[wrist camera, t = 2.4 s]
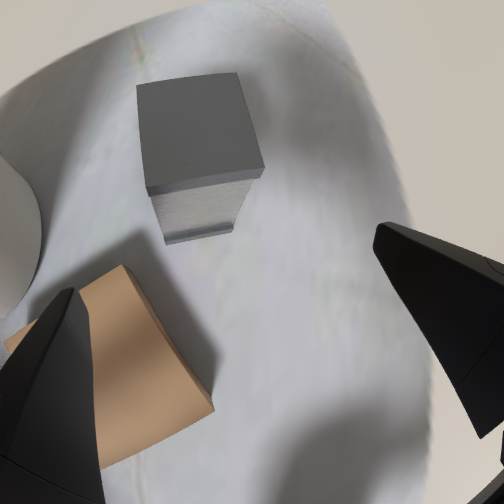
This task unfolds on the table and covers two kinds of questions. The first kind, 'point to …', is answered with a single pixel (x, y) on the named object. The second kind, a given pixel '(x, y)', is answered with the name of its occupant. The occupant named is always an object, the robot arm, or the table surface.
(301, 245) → the table surface
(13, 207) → the cylinder vase
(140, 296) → the stand
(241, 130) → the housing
